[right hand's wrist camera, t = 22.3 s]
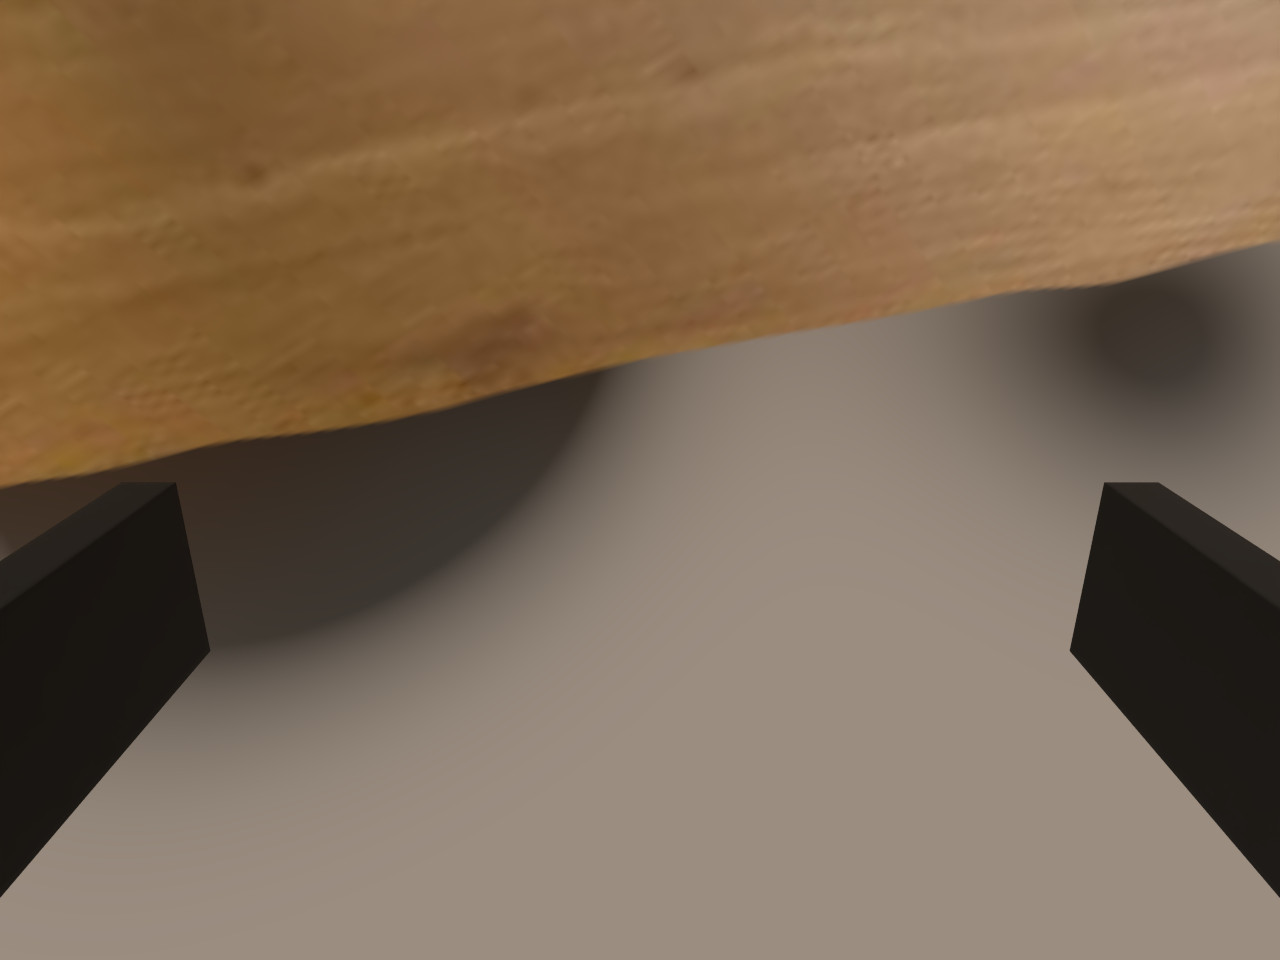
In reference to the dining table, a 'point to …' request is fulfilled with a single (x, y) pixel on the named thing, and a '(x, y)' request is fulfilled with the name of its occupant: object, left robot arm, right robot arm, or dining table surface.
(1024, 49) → the dining table surface
